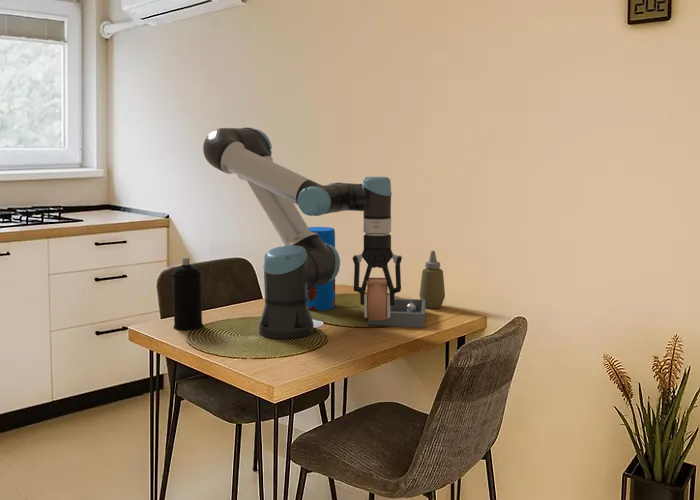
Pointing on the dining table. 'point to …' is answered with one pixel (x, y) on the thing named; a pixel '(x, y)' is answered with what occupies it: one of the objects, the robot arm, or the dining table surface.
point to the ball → (411, 308)
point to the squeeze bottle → (432, 283)
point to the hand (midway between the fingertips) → (377, 316)
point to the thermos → (325, 294)
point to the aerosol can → (187, 297)
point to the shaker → (377, 298)
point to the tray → (403, 314)
